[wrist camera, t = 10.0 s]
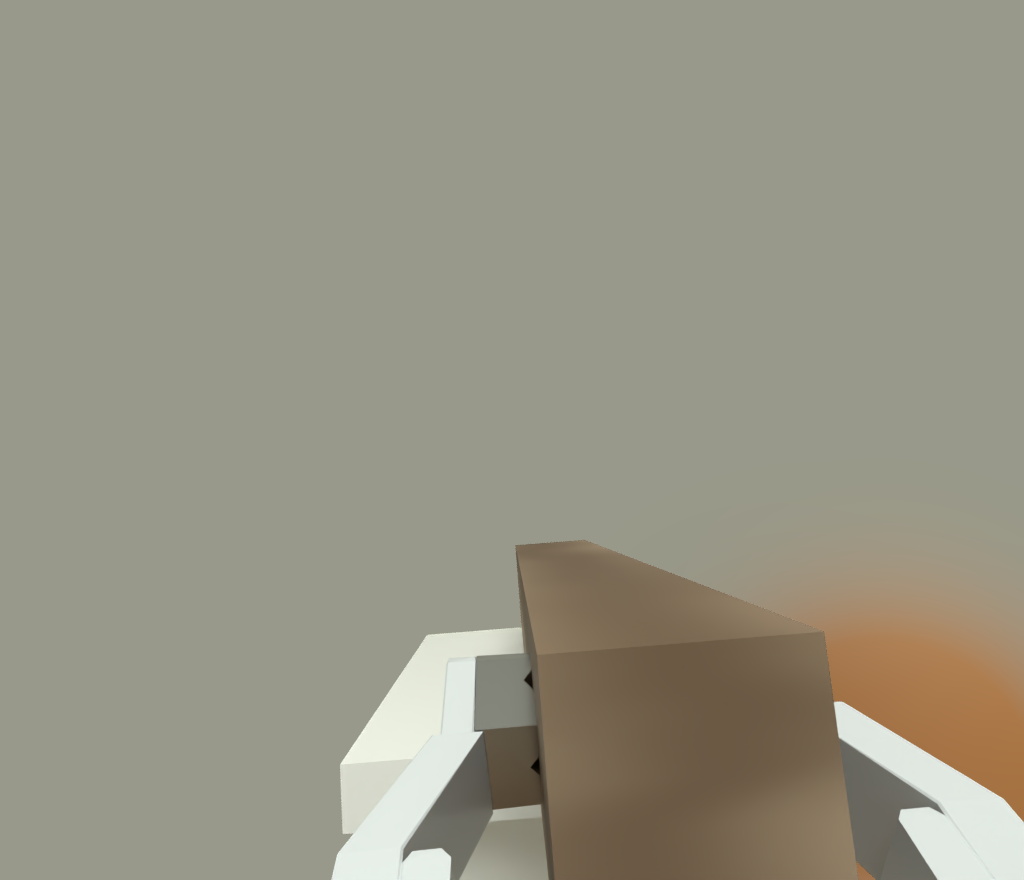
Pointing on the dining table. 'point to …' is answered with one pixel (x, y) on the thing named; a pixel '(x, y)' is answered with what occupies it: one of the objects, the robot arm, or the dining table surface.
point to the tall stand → (405, 730)
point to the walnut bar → (677, 727)
